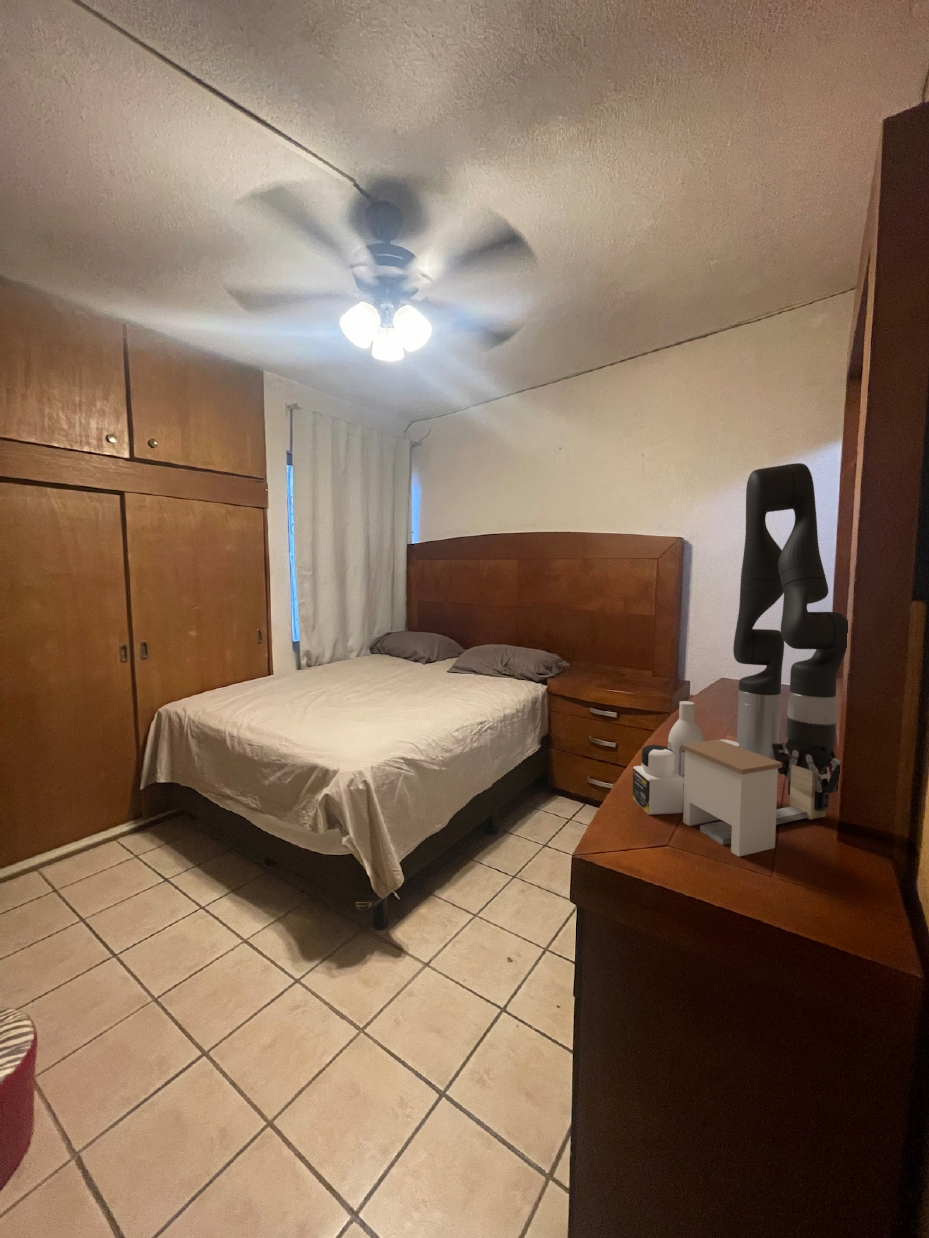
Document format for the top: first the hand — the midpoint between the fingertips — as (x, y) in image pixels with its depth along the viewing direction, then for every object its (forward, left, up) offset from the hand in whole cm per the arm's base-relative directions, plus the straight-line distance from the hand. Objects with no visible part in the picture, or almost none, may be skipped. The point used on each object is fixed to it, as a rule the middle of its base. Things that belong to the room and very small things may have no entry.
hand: (807, 804), depth 90 cm
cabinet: (+20, 0, -2) cm, 20 cm away
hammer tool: (+6, 0, -2) cm, 6 cm away
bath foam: (+15, -15, -3) cm, 21 cm away
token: (+21, 0, -3) cm, 21 cm away
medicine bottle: (+24, -13, -3) cm, 27 cm away
